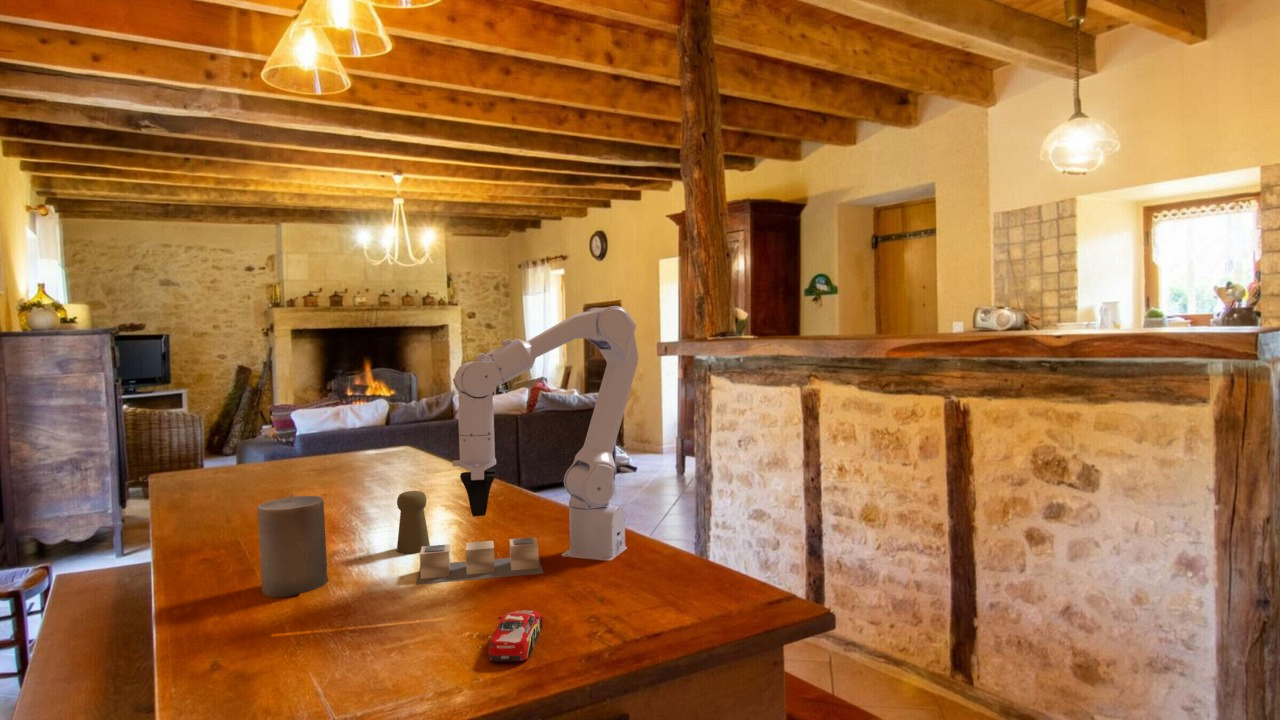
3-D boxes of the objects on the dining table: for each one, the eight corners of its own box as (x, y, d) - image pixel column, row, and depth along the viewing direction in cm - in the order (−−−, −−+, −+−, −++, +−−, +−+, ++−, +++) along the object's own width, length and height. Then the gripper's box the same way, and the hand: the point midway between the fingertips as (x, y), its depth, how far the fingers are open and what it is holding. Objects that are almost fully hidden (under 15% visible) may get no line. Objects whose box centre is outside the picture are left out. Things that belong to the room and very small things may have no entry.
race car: (507, 625, 104) (506, 596, 104) (546, 625, 104) (545, 596, 103) (481, 668, 91) (480, 635, 91) (526, 668, 90) (525, 635, 90)
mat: (538, 557, 133) (538, 555, 133) (543, 575, 124) (543, 573, 124) (420, 567, 129) (420, 565, 129) (416, 586, 119) (415, 584, 119)
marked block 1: (450, 567, 127) (449, 543, 127) (449, 576, 123) (448, 550, 123) (422, 570, 126) (421, 545, 126) (420, 578, 122) (419, 553, 122)
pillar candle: (341, 580, 124) (337, 488, 123) (296, 600, 114) (291, 501, 114) (294, 575, 127) (289, 486, 126) (246, 595, 118) (241, 499, 117)
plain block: (494, 563, 129) (493, 540, 129) (494, 572, 125) (493, 548, 124) (466, 566, 128) (466, 542, 128) (466, 574, 124) (465, 550, 124)
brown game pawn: (420, 556, 135) (418, 495, 135) (389, 555, 137) (387, 495, 136) (436, 547, 141) (434, 488, 141) (406, 545, 143) (404, 488, 142)
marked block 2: (536, 560, 131) (535, 536, 130) (538, 568, 126) (538, 543, 126) (510, 562, 130) (509, 538, 129) (511, 570, 125) (510, 545, 125)
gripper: (453, 429, 132) (455, 506, 132) (450, 441, 118) (452, 527, 118) (494, 427, 133) (496, 504, 134) (496, 438, 119) (498, 524, 120)
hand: (479, 515), depth 126 cm, fingers closed
